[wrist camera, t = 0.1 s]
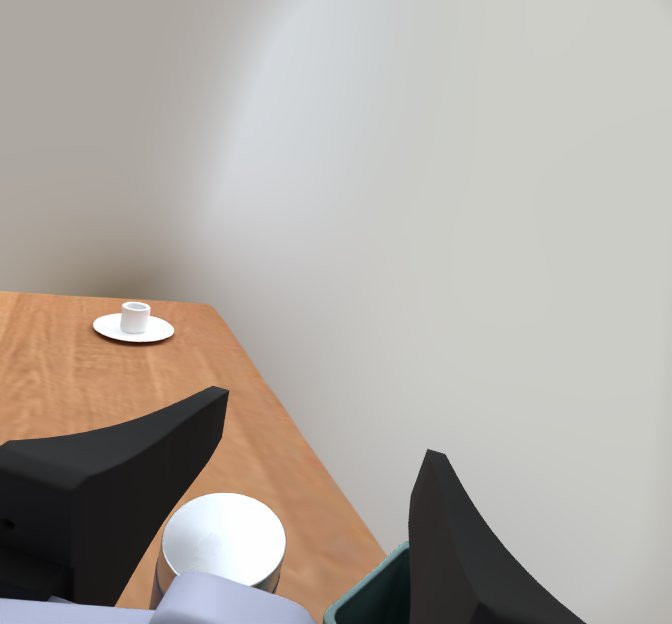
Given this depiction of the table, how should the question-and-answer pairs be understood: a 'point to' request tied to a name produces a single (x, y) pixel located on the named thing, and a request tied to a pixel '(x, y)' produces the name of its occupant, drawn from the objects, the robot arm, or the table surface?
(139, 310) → the candle holder
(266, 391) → the table surface
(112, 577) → the robot arm
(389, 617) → the flower pot
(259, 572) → the tin can
